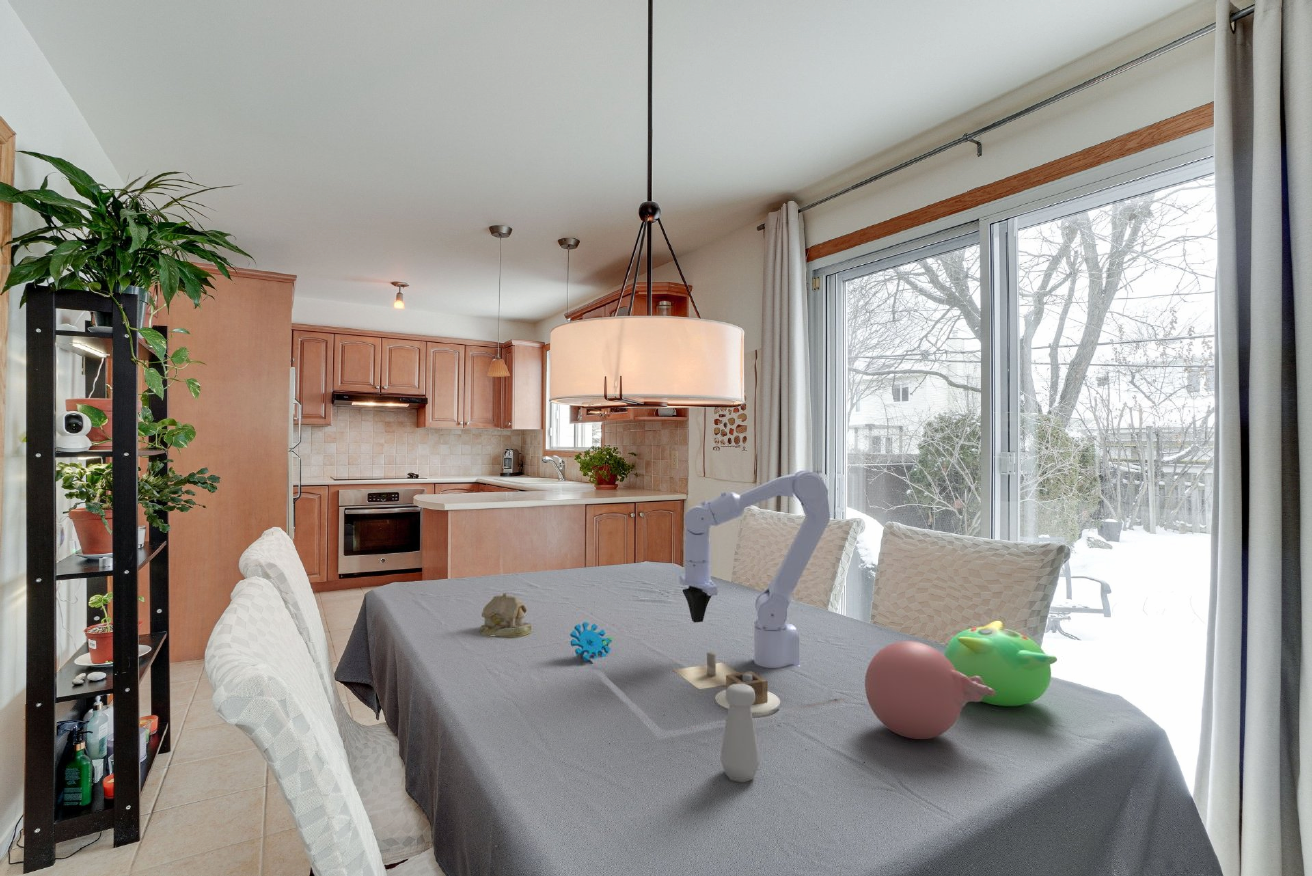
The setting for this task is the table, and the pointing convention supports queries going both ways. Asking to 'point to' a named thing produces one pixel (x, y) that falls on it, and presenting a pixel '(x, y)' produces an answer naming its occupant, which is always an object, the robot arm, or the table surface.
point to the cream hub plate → (762, 708)
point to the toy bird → (1002, 663)
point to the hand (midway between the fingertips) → (697, 621)
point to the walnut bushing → (757, 684)
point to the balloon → (918, 690)
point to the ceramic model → (505, 617)
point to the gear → (590, 641)
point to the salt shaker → (740, 735)
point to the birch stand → (707, 673)
